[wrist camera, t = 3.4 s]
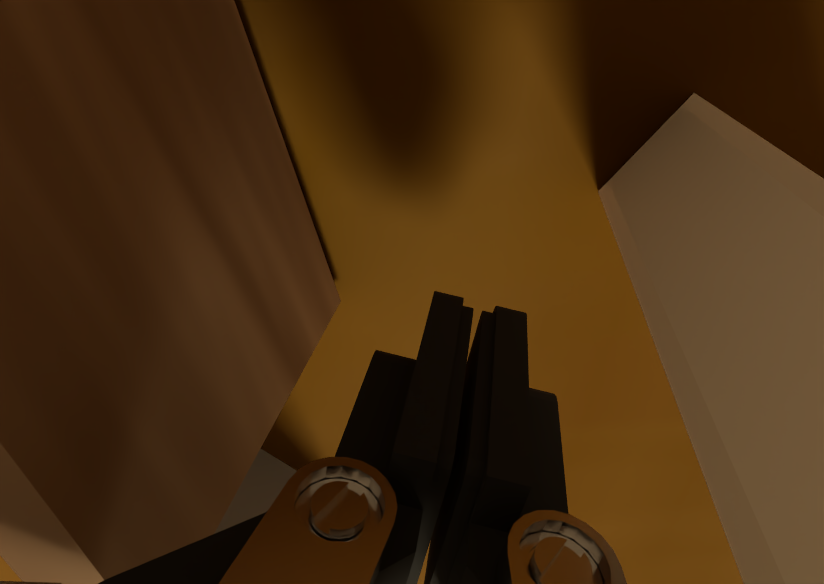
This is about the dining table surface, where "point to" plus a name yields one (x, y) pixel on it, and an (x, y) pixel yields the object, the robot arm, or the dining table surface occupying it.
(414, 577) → the robot arm
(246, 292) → the door
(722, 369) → the wall
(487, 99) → the dining table surface
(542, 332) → the dining table surface
